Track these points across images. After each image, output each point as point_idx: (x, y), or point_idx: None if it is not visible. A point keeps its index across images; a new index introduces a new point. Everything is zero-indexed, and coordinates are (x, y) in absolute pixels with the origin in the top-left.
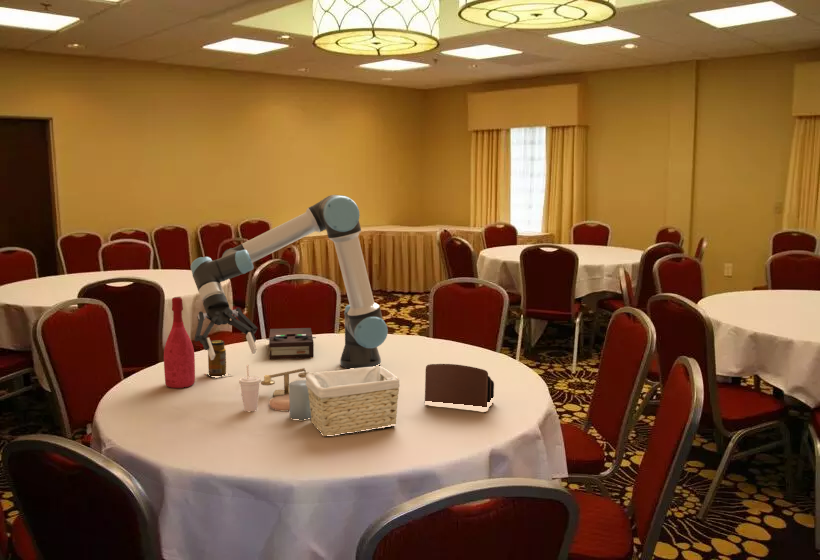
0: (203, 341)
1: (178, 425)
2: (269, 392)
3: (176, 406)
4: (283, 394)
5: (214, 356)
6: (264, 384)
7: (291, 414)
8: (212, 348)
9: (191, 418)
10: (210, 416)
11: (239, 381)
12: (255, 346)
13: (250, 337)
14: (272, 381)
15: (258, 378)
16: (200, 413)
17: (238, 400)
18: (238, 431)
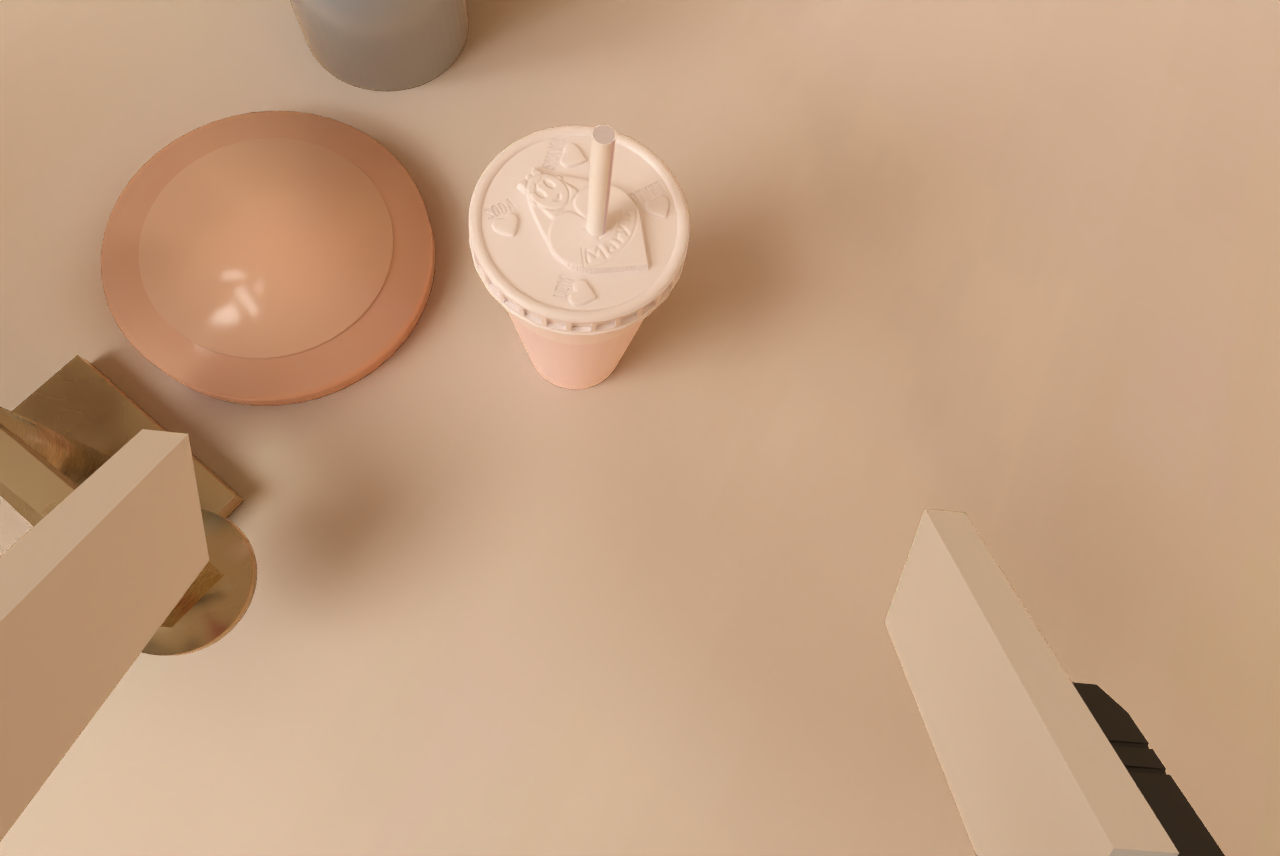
0: (1207, 831)
1: (1105, 396)
2: None
3: None
4: None
5: (918, 543)
6: (248, 543)
7: (464, 4)
8: (989, 598)
9: (992, 465)
10: (867, 415)
11: (683, 257)
12: (123, 457)
13: (2, 611)
14: None
15: (494, 189)
16: (902, 522)
17: (520, 618)
18: (836, 72)
